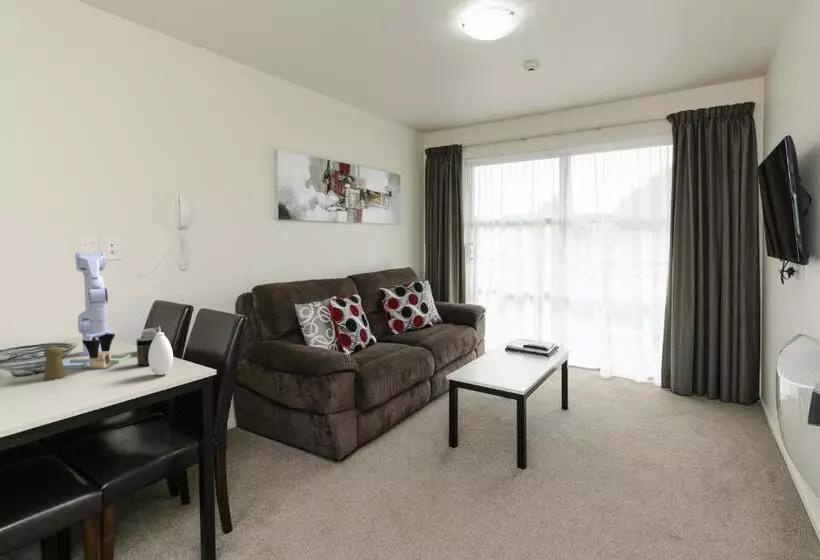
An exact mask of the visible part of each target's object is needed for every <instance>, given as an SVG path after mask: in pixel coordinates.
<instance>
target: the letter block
mask: <svg viewBox="0 0 820 560" xmlns="http://www.w3.org/2000/svg"><path fill="white" fill-rule="evenodd" d="M111 352H112V351H111V350H110V351H106V352H98V358H90V355H88V359H89V365H88V366H90V368H104V367H106V366H108V365H110V364H111V355H112V353H111Z"/></svg>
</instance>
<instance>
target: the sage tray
mask: <svg viewBox="0 0 820 560" xmlns="http://www.w3.org/2000/svg"><path fill="white" fill-rule="evenodd" d="M131 358H132V354H131V353H130V354H111V363H117V364H121V363H123V362H125V361H127V360H128V359H131Z"/></svg>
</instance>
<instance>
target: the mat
mask: <svg viewBox="0 0 820 560" xmlns="http://www.w3.org/2000/svg"><path fill="white" fill-rule="evenodd" d="M117 364H118V363H111V364H110V365H108V366H106V367H104V368H90V365H88V366H86V367H84V368H83V370H85V371H87V370H89V371H90V370H91V371H92V370H107V369H110V368H112V367H115V366H116V365H117Z"/></svg>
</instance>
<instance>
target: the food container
mask: <svg viewBox="0 0 820 560" xmlns="http://www.w3.org/2000/svg"><path fill="white" fill-rule="evenodd" d="M156 333H159V327H151V328H145V329H143V330H142V333H141V337H142V338H146V337H155V336H156Z"/></svg>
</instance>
